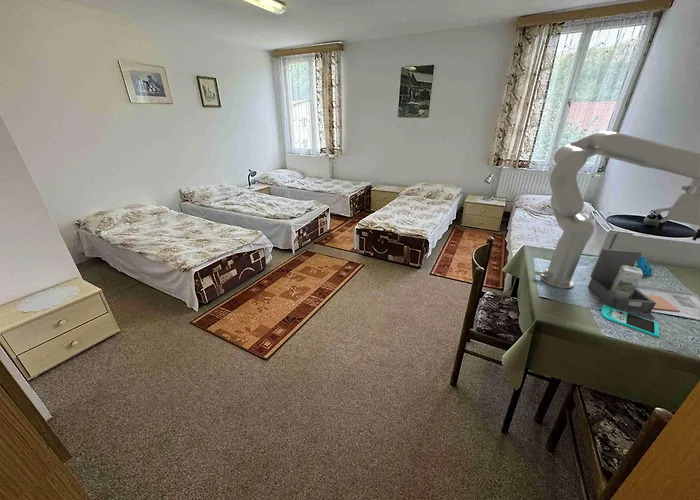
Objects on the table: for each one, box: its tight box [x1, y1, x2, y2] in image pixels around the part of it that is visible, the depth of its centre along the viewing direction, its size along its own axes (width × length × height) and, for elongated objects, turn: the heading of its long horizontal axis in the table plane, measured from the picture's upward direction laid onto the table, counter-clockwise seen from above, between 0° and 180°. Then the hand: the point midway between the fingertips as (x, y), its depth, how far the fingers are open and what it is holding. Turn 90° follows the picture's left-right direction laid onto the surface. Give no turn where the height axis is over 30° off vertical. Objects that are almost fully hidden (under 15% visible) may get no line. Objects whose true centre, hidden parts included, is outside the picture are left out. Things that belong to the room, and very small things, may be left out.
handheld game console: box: [600, 304, 660, 338], centre depth 107 cm, size 10×16×1 cm, turn 46°
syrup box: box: [609, 265, 644, 299], centre depth 116 cm, size 6×6×14 cm
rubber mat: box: [645, 294, 681, 313], centre depth 117 cm, size 10×10×1 cm
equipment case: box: [587, 248, 656, 314], centre depth 116 cm, size 14×18×18 cm
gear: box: [636, 255, 653, 277], centre depth 140 cm, size 11×6×10 cm
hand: (675, 235), depth 110 cm, fingers open, 9 cm apart
